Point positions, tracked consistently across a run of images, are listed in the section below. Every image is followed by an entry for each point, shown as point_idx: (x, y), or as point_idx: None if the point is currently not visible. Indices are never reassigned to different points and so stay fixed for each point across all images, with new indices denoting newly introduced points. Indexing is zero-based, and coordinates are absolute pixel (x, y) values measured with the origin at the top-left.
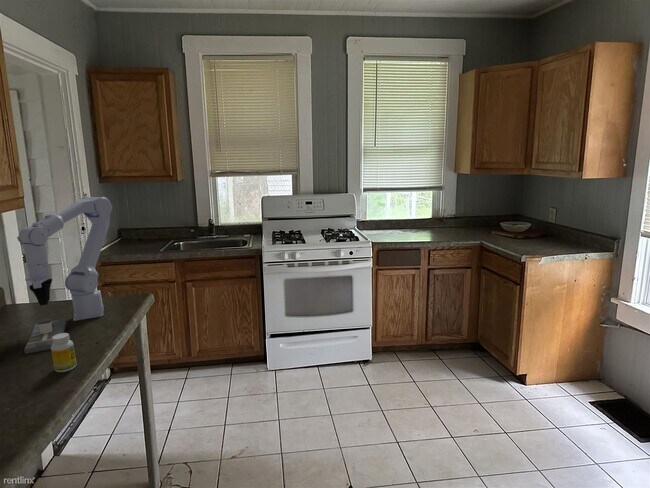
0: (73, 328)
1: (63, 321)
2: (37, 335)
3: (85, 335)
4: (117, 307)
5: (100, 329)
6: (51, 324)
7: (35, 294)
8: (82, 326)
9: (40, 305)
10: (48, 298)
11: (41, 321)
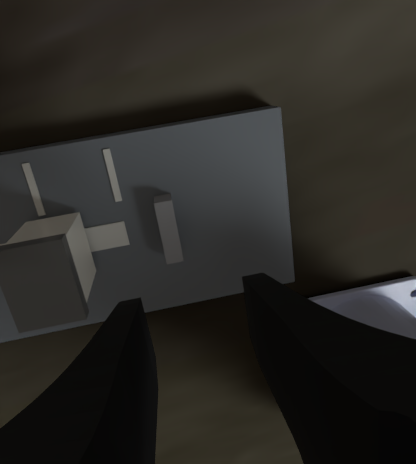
0: (174, 332)
1: None
2: (27, 199)
3: None
4: None
5: None
6: (165, 252)
7: (29, 415)
8: (189, 367)
9: (116, 305)
10: (259, 360)
11: (15, 273)
